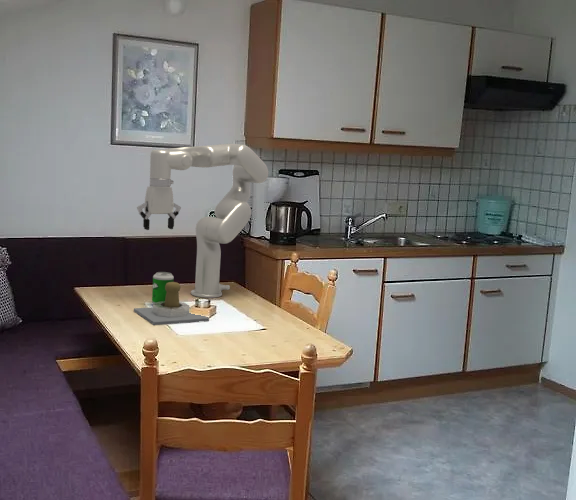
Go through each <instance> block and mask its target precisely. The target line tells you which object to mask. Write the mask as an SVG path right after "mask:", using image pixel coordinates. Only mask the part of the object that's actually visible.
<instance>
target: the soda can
mask: <svg viewBox="0 0 576 500" xmlns="http://www.w3.org/2000/svg"><path fill="white" fill-rule="evenodd" d="M168 282H175V281H174V275H173V274H172V273H171V272H166V271H158V272H156V273H155V274H153V276H152V290H151V291H152V294H151V295H152V296H151V303H152V305H153V304H155V303H157V302H161V301H165V298H166V293H167V291H166V289H165V286H166V284H167V283H168Z"/></svg>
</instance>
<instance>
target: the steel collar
mask: <svg viewBox="0 0 576 500" xmlns="http://www.w3.org/2000/svg"><path fill="white" fill-rule="evenodd" d="M164 304H165V301H161V302H157V303H155V304H153V303H152V307H153V313H154V314H156V315H157V316H162V317H170V318H173V317H184V316H186V315H188V314H189V307H190V305H189V304H188V303H186V302H183V301H179V305H180V307H173V308H170V307H164Z"/></svg>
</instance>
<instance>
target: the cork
mask: <svg viewBox="0 0 576 500" xmlns="http://www.w3.org/2000/svg"><path fill="white" fill-rule="evenodd" d="M165 289H166V291H167V293H166V298H165V304H164V307H170V308H173V307H180V305H179V302H180V296H179V292H180V291H181V285H180V283H178V282H176V281H174V282H168V283H167V284H166V286H165Z"/></svg>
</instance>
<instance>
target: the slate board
mask: <svg viewBox="0 0 576 500" xmlns="http://www.w3.org/2000/svg"><path fill="white" fill-rule="evenodd" d="M189 308H191V307H190V306H189ZM133 312H134V313H136V314H137V315H138V316H140V317H141V318H143V319H144V320H146V321H147V322H149V323H150V324H152V326H160V325H174V324H188V323H200V322H199V321H204V322H209V321H210V317H207V316H206V315H204V316H201V315H195V314H191V313H189V314H188V315H186V316H184V317H173V318H170V317H162V316H157V315H156V314H154V313H153V306H151V307H135V308H134V307H133Z"/></svg>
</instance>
